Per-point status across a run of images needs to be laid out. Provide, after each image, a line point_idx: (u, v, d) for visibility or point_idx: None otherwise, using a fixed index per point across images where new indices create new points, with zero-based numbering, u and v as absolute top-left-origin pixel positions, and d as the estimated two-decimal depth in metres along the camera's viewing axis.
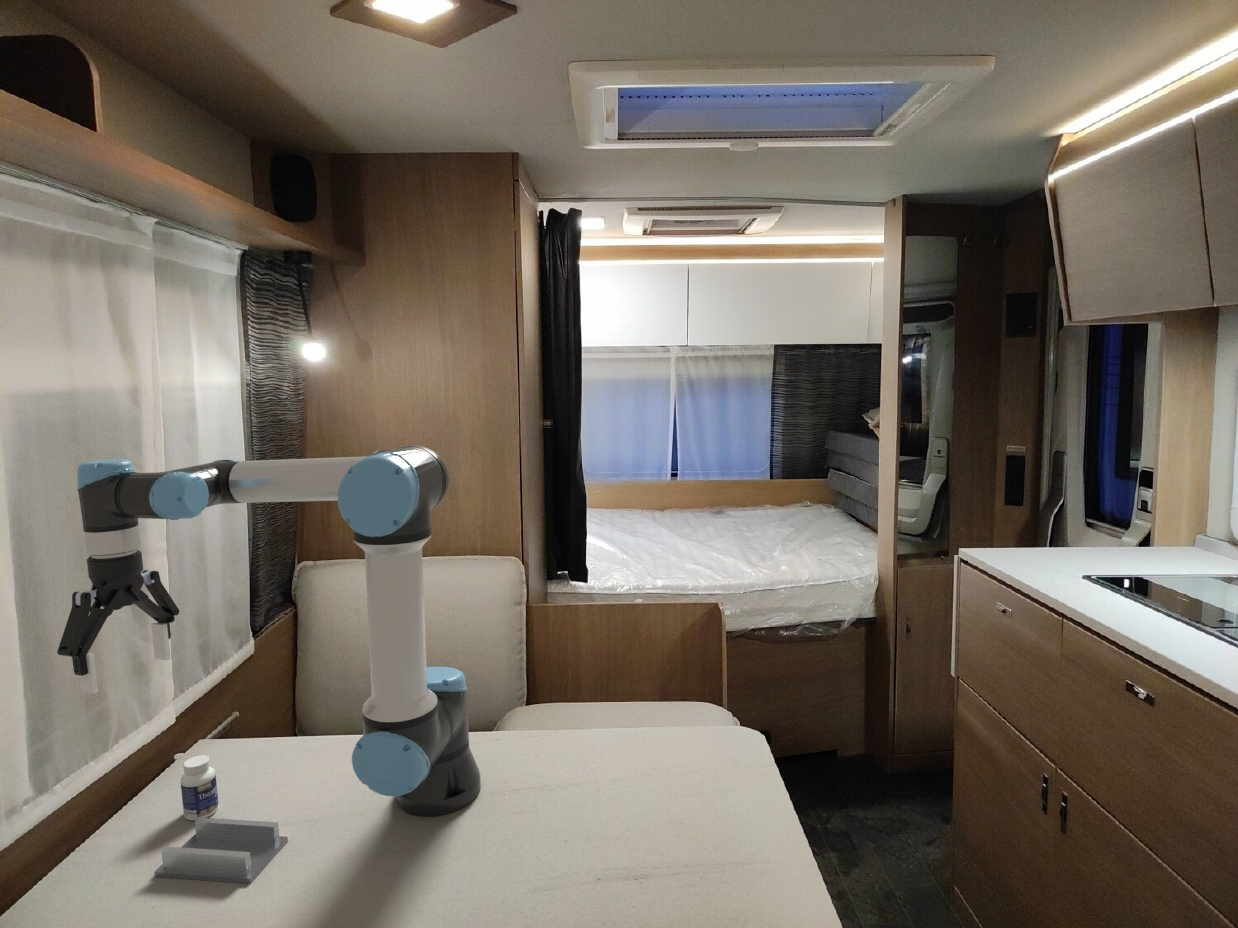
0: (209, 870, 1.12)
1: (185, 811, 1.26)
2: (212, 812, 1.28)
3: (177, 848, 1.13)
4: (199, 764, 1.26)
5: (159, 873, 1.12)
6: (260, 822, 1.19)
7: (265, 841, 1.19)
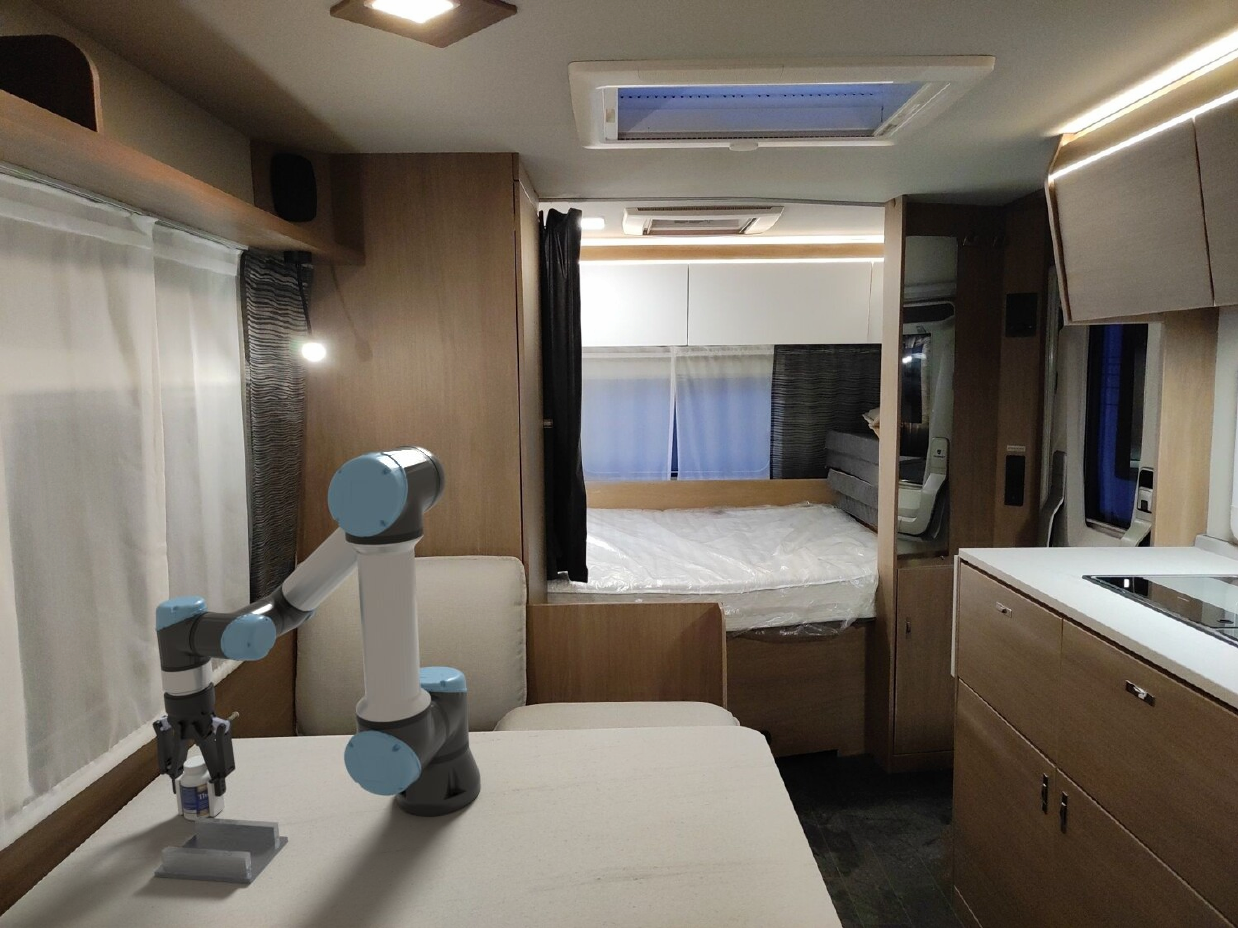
0: (209, 870, 1.12)
1: (185, 811, 1.26)
2: None
3: (177, 848, 1.13)
4: (199, 764, 1.26)
5: (159, 873, 1.12)
6: (260, 822, 1.19)
7: (265, 841, 1.19)
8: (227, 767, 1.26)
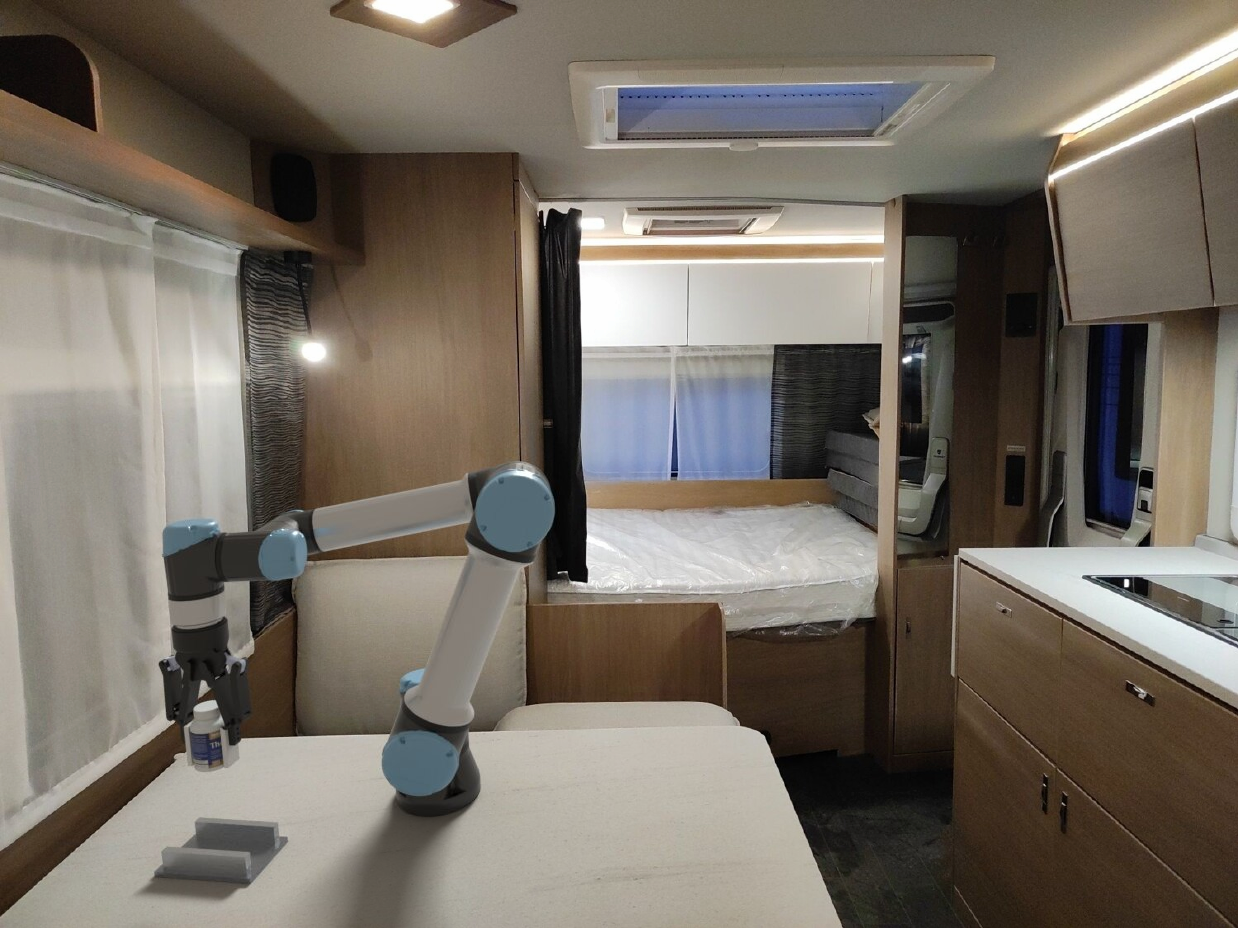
0: (209, 870, 1.12)
1: (195, 762, 1.12)
2: None
3: (177, 848, 1.13)
4: (211, 709, 1.12)
5: (159, 873, 1.12)
6: (260, 822, 1.19)
7: (265, 841, 1.19)
8: (243, 712, 1.11)
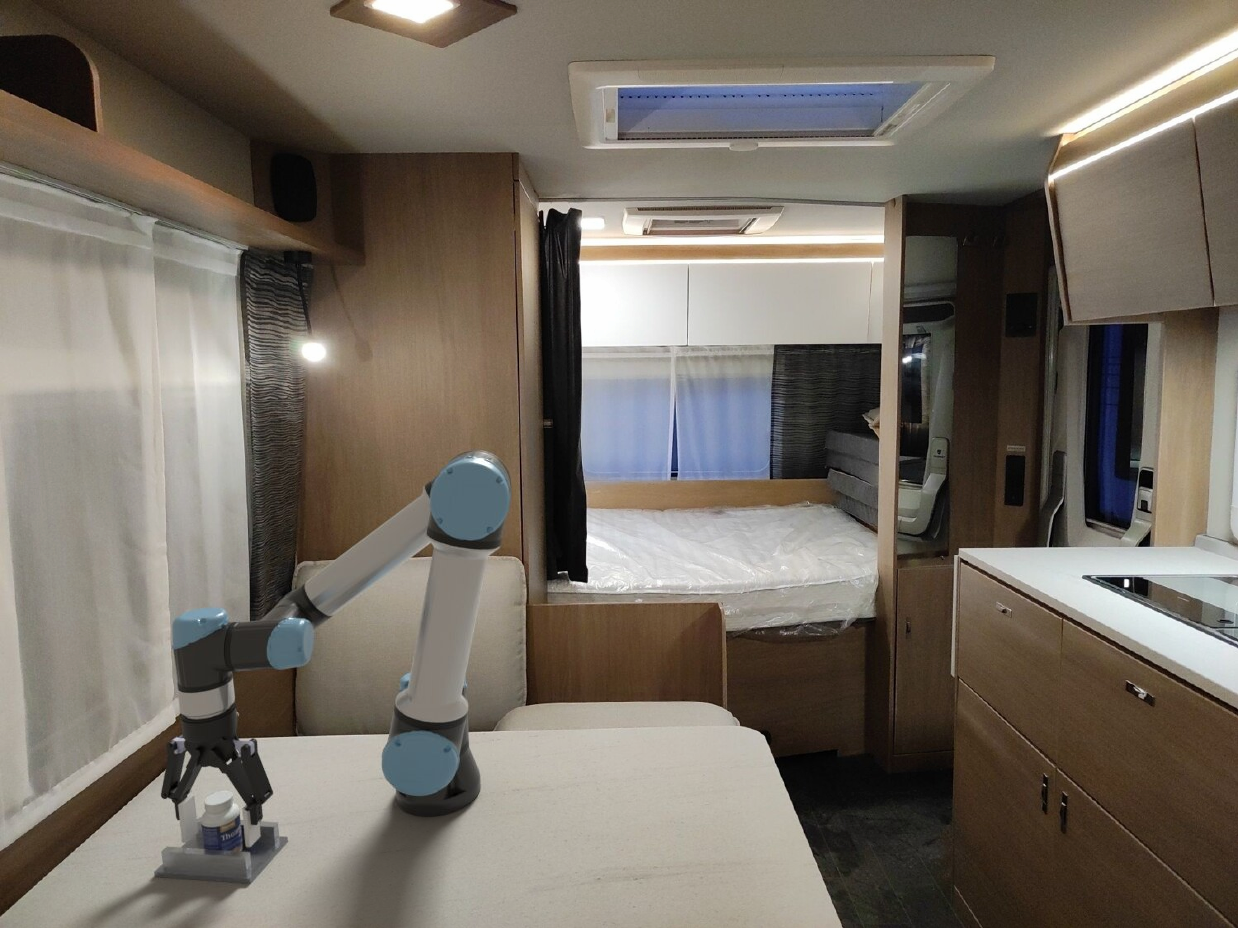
0: (209, 870, 1.12)
1: None
2: None
3: (177, 848, 1.13)
4: (222, 801, 1.14)
5: (159, 873, 1.12)
6: (260, 822, 1.19)
7: (265, 841, 1.19)
8: (263, 792, 1.13)
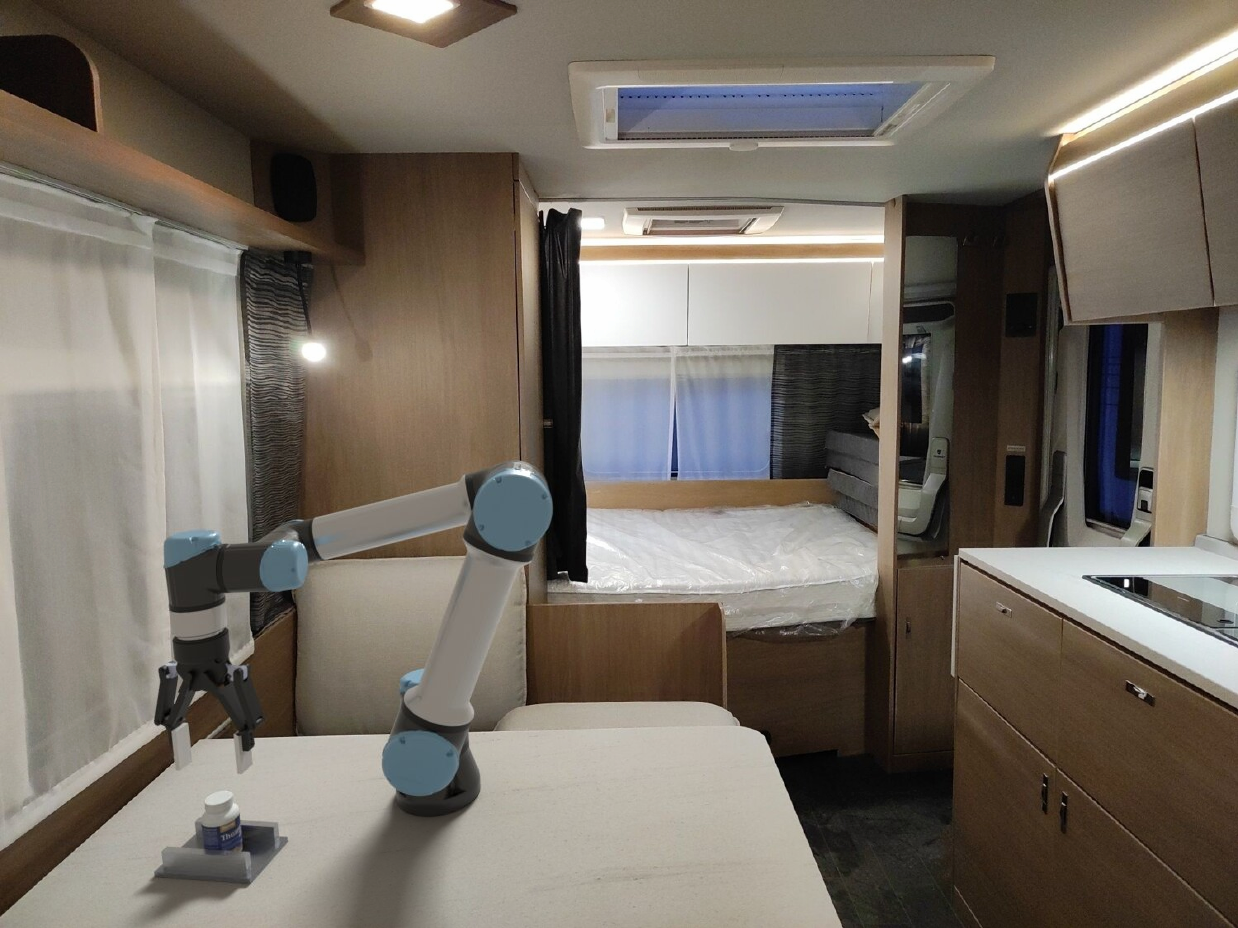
0: (209, 870, 1.12)
1: None
2: None
3: (177, 848, 1.13)
4: (222, 801, 1.14)
5: (159, 873, 1.12)
6: (260, 822, 1.19)
7: (265, 841, 1.19)
8: (255, 717, 1.11)
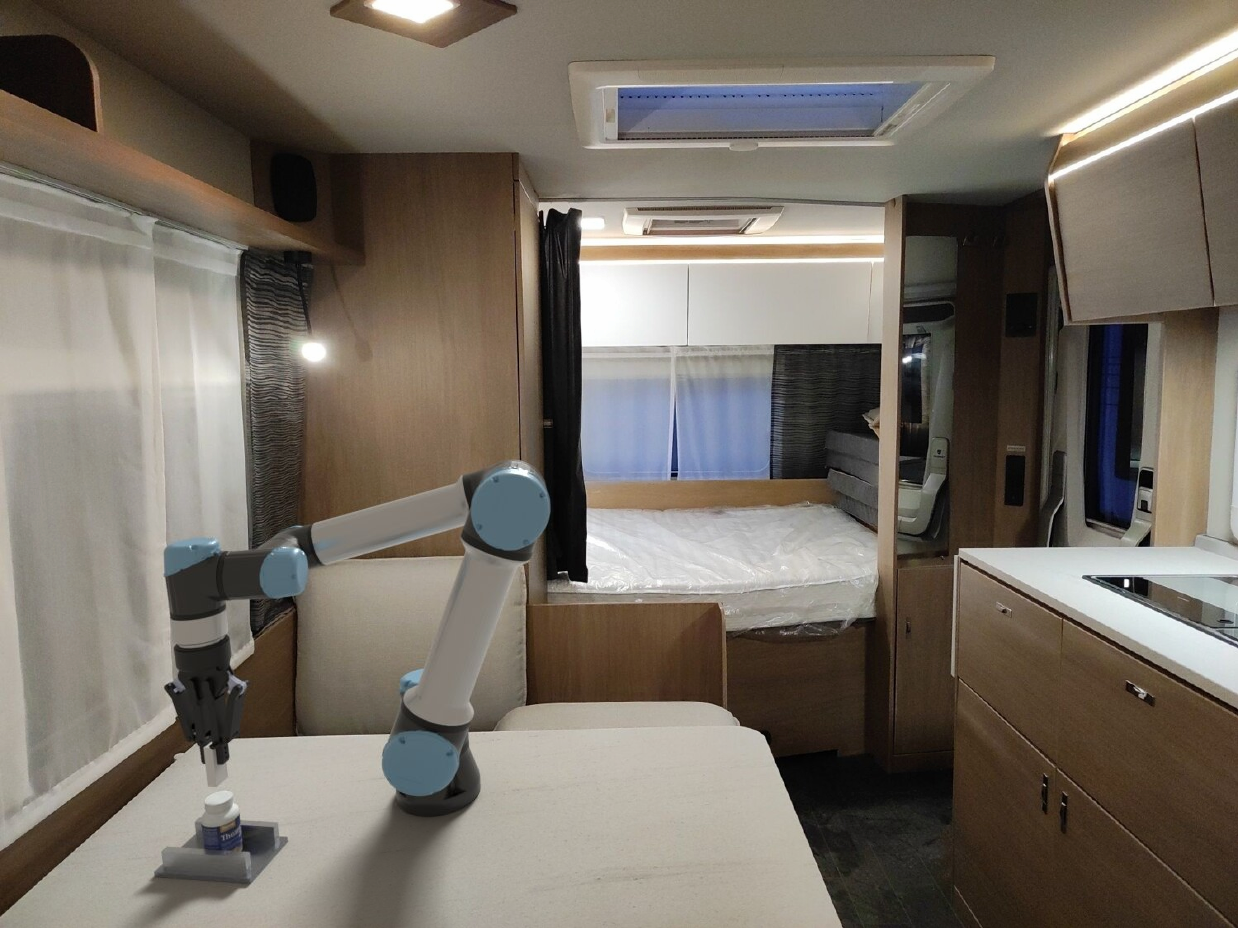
0: (209, 870, 1.12)
1: None
2: None
3: (177, 848, 1.13)
4: (222, 801, 1.14)
5: (159, 873, 1.12)
6: (260, 822, 1.19)
7: (265, 841, 1.19)
8: (232, 732, 1.12)
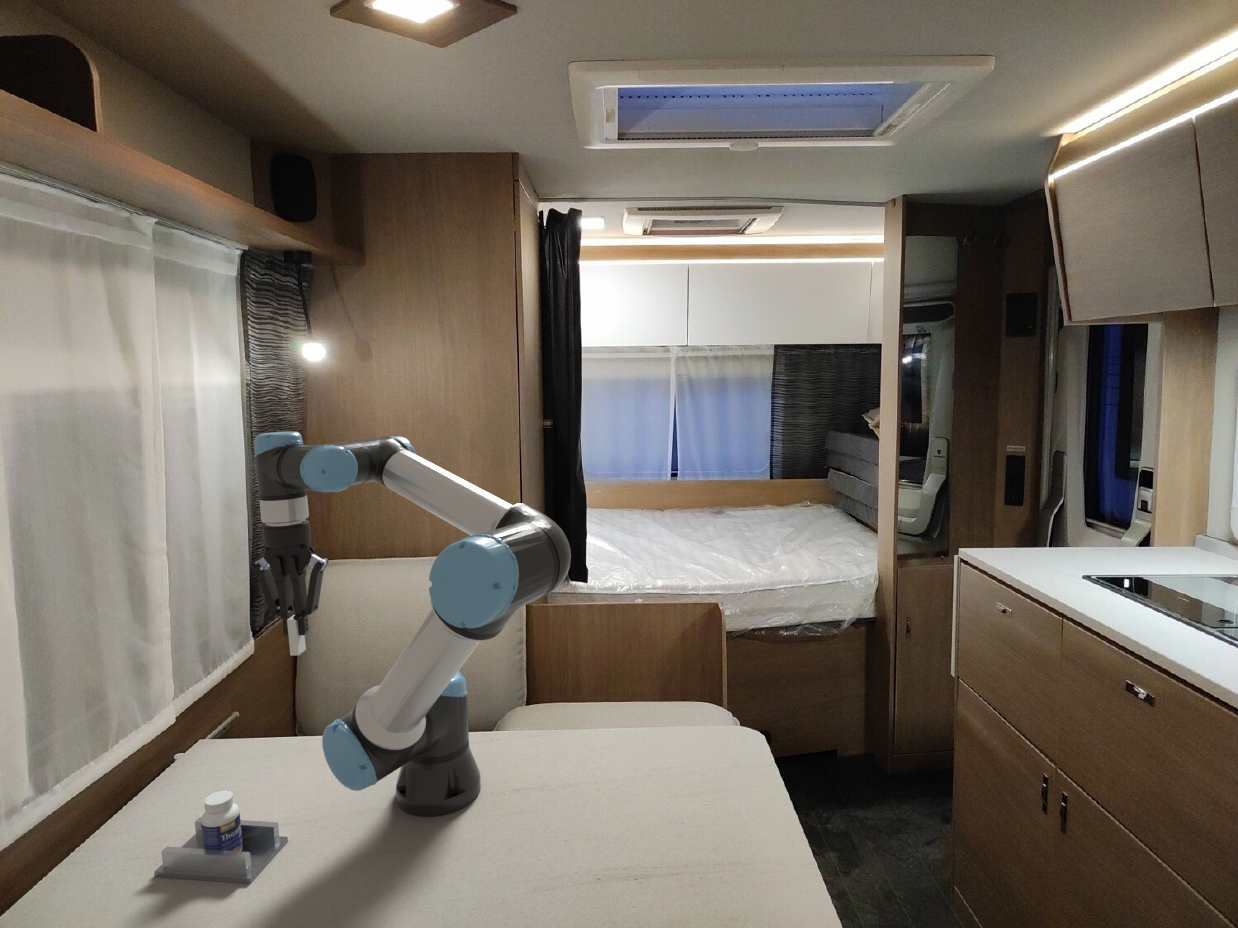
0: (209, 870, 1.12)
1: None
2: None
3: (177, 848, 1.13)
4: (222, 801, 1.14)
5: (159, 873, 1.12)
6: (260, 822, 1.19)
7: (265, 841, 1.19)
8: (313, 605, 1.26)
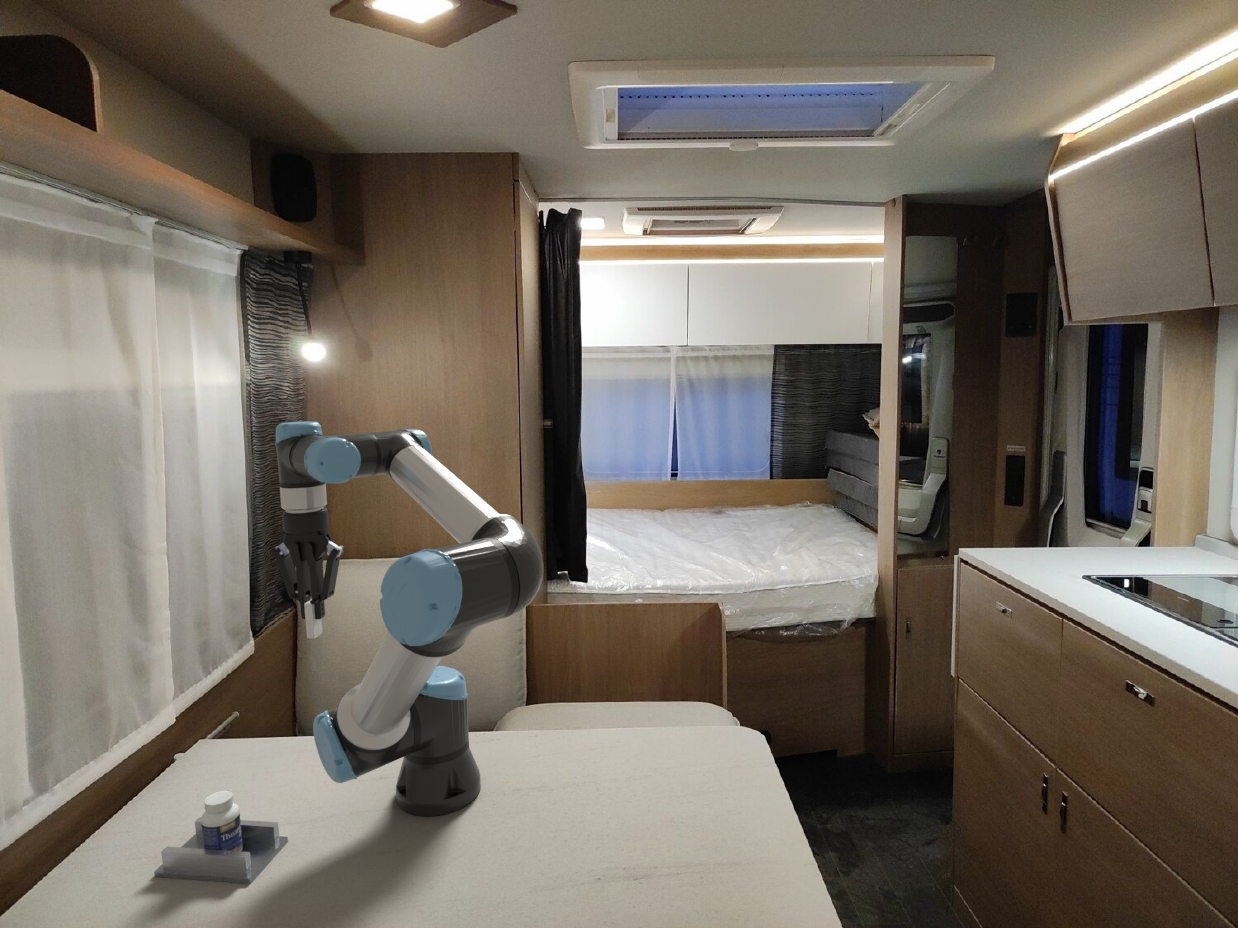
0: (209, 870, 1.12)
1: None
2: None
3: (177, 848, 1.13)
4: (222, 801, 1.14)
5: (159, 873, 1.12)
6: (260, 822, 1.19)
7: (265, 841, 1.19)
8: (329, 590, 1.30)
